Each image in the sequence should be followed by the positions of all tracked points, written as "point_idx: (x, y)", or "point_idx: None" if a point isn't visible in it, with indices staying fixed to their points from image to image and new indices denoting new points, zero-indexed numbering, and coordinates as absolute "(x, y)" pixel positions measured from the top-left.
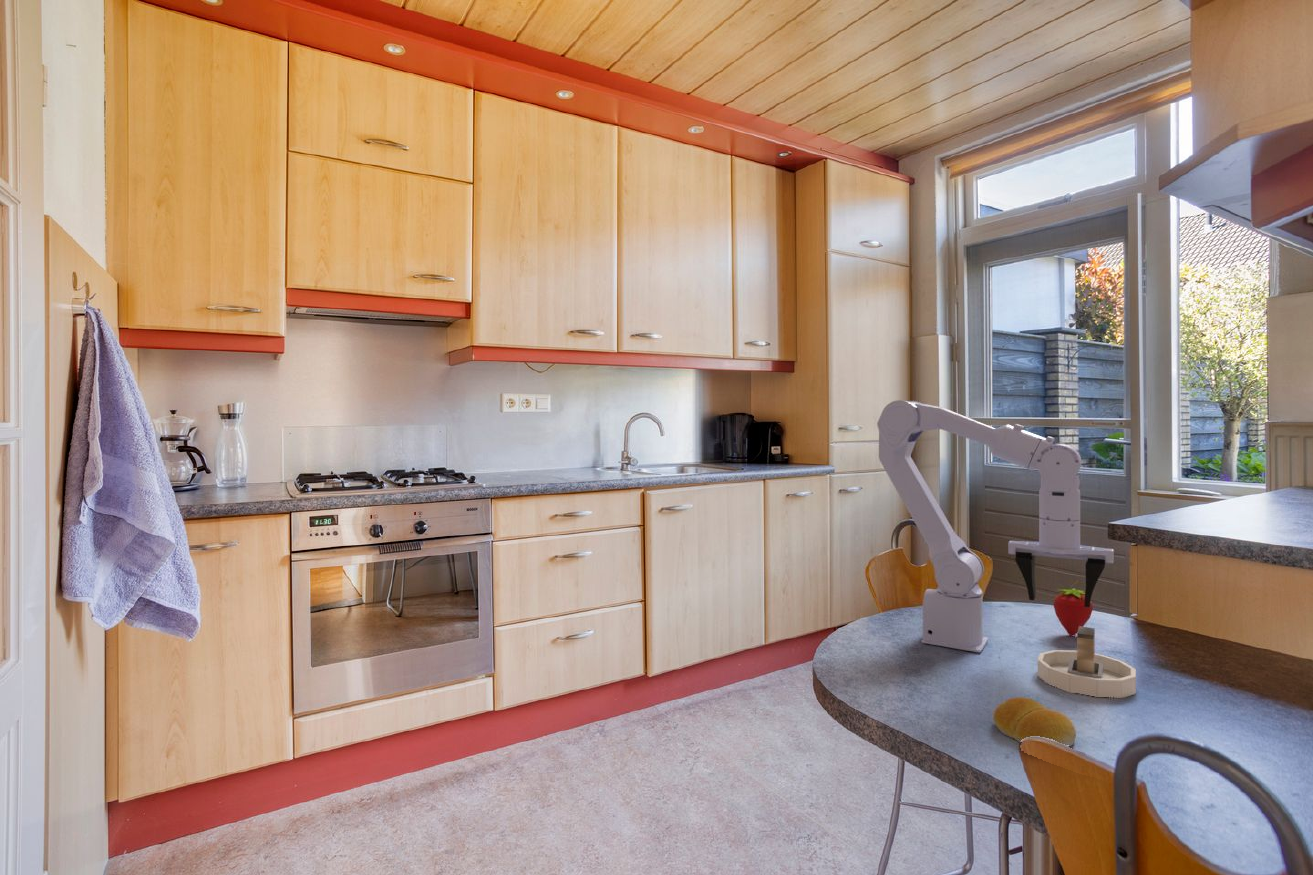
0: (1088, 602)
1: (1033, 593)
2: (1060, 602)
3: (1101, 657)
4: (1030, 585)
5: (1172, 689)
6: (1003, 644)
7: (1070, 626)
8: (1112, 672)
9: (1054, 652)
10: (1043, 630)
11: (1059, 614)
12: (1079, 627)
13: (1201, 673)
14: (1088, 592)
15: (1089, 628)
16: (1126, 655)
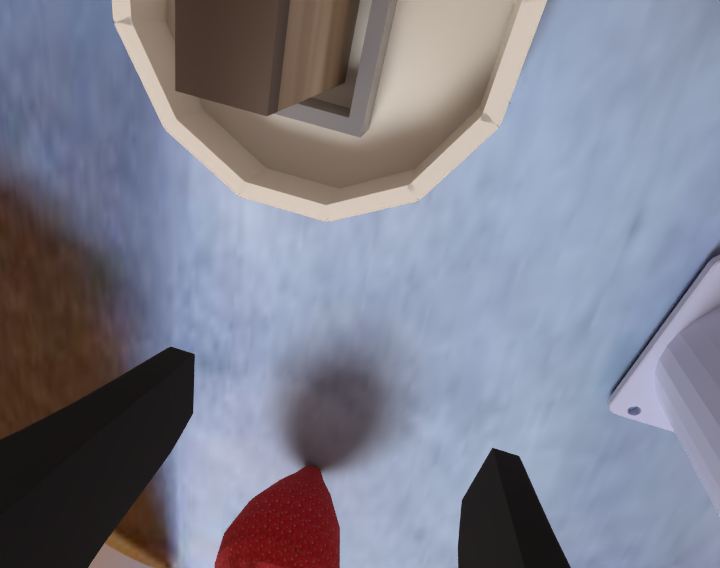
0: (151, 362)
1: (503, 487)
2: (314, 564)
3: (238, 171)
4: (539, 556)
5: (56, 38)
6: (555, 374)
7: (308, 478)
8: (224, 120)
9: (421, 172)
10: (382, 498)
11: (330, 520)
12: (266, 78)
13: (12, 237)
14: (95, 408)
15: (205, 77)
16: (187, 341)
